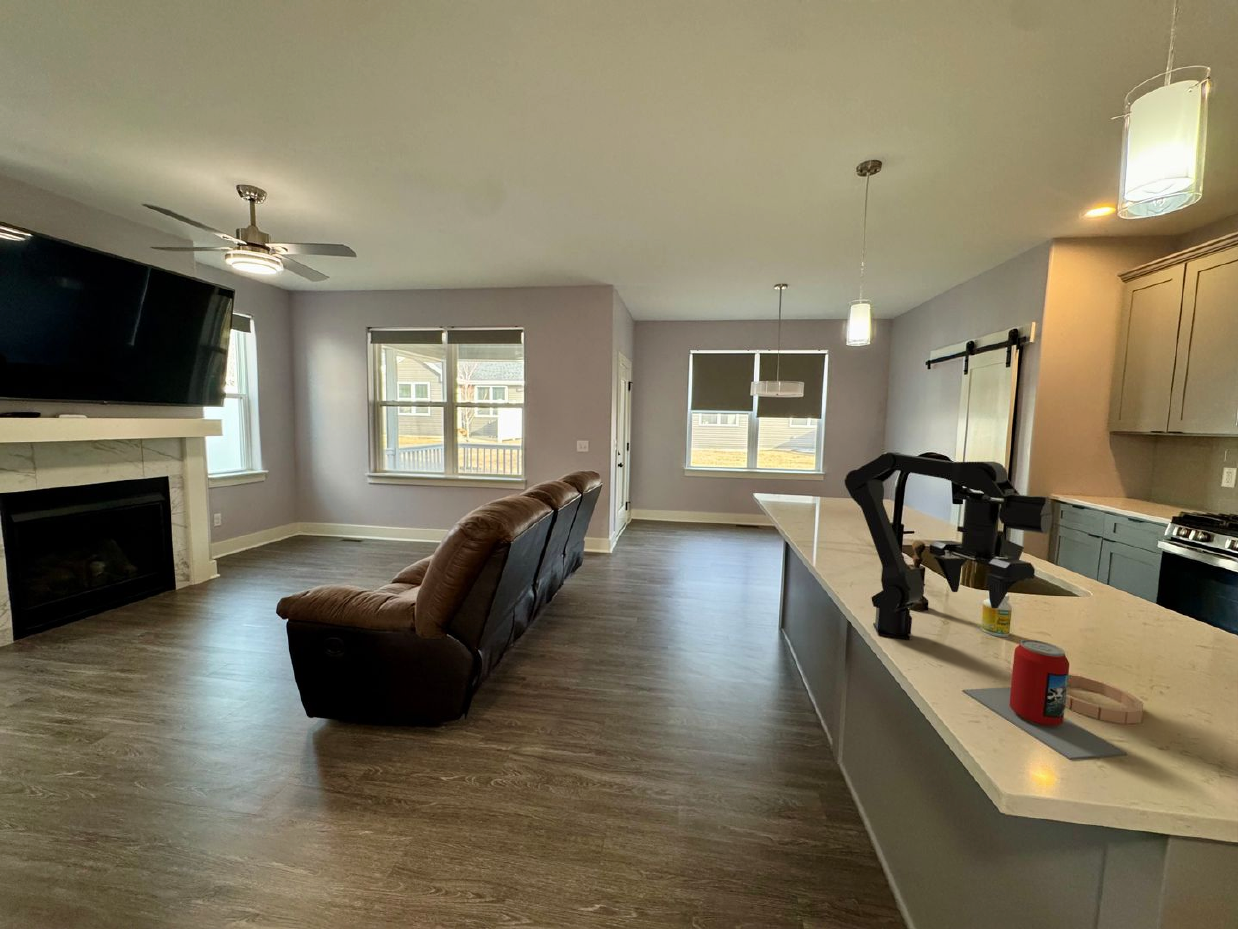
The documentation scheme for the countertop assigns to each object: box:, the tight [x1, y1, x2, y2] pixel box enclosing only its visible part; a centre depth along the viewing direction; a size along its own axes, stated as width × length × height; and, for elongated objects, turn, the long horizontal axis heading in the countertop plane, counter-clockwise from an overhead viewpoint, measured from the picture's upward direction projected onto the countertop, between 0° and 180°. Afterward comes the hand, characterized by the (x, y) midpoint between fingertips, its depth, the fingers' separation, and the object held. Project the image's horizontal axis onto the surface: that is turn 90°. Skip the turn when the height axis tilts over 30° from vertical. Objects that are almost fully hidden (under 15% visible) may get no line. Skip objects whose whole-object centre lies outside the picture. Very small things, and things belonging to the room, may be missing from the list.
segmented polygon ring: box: [1065, 672, 1144, 725], centre depth 85 cm, size 13×13×2 cm
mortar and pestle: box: [907, 540, 929, 612], centre depth 129 cm, size 7×6×18 cm
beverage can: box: [1009, 639, 1070, 726], centre depth 78 cm, size 7×7×12 cm
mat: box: [961, 686, 1128, 760], centre depth 79 cm, size 18×10×1 cm, turn 9°
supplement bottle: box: [980, 590, 1013, 638], centre depth 114 cm, size 5×5×10 cm
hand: (973, 599), depth 98 cm, fingers open, 9 cm apart
